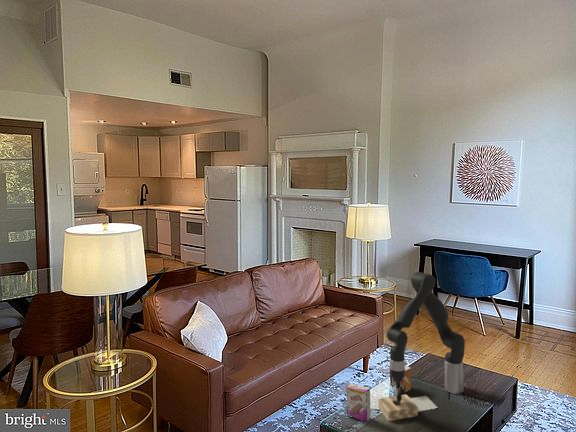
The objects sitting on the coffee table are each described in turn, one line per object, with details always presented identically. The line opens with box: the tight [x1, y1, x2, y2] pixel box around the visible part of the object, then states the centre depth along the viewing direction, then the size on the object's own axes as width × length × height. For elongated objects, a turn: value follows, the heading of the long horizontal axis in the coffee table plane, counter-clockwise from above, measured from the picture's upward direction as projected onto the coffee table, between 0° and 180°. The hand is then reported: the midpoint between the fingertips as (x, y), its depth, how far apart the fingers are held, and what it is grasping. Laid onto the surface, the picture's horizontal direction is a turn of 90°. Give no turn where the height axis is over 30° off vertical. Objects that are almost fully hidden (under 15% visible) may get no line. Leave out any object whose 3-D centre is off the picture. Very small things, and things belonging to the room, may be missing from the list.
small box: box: [402, 364, 412, 394], centre depth 244 cm, size 8×6×13 cm
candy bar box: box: [346, 382, 371, 423], centre depth 219 cm, size 11×5×16 cm, turn 59°
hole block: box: [378, 394, 419, 422], centre depth 223 cm, size 16×12×5 cm
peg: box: [393, 385, 401, 406], centre depth 222 cm, size 3×3×10 cm
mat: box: [409, 395, 439, 413], centre depth 229 cm, size 12×12×1 cm
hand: (397, 398), depth 223 cm, fingers closed on peg, 3 cm apart
